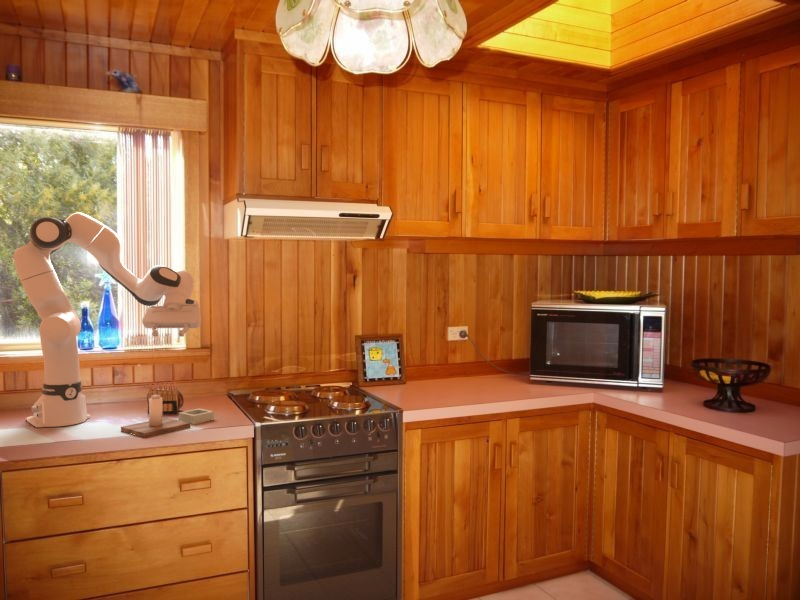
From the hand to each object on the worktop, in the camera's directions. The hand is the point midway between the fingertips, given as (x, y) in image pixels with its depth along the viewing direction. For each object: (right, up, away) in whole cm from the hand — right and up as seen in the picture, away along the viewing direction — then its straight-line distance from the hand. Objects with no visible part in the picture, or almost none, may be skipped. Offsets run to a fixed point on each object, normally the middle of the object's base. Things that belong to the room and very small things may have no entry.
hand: (167, 335), depth 231 cm
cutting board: (+1, -31, -13) cm, 34 cm away
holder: (+10, -30, 0) cm, 32 cm away
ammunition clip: (-5, -30, +11) cm, 32 cm away
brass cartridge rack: (-7, -30, +17) cm, 35 cm away
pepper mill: (+1, -29, -13) cm, 32 cm away
